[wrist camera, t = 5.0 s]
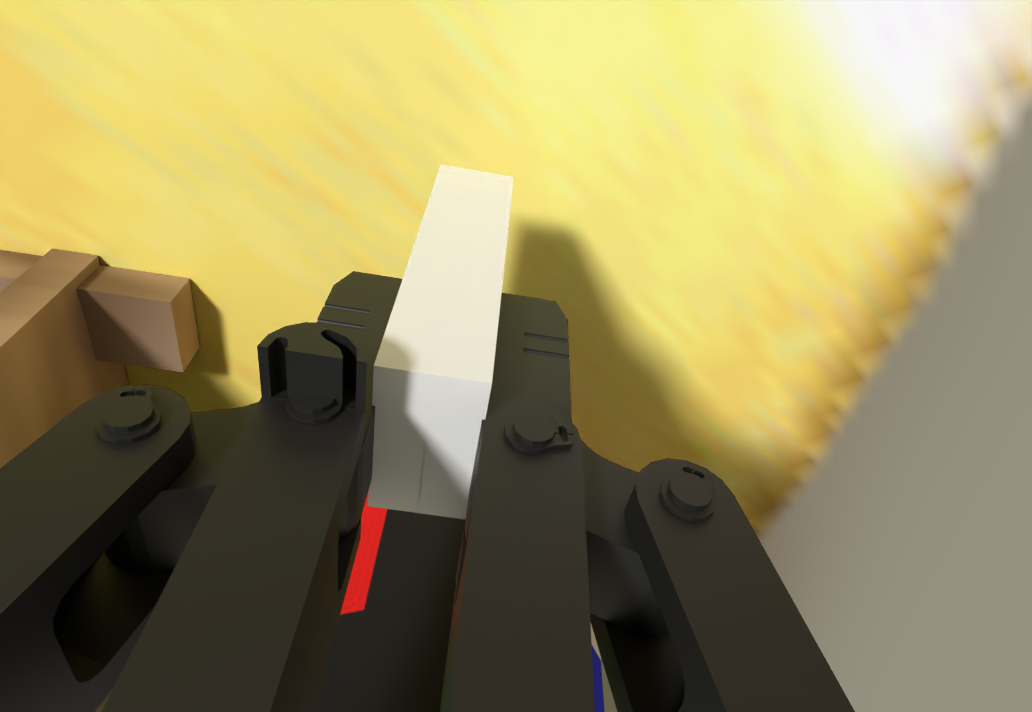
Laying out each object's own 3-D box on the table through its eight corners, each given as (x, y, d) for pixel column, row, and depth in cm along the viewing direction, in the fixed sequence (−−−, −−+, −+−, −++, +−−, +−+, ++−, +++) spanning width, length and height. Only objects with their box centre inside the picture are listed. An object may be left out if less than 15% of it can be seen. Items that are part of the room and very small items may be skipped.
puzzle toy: (595, 579, 27) (617, 890, 19) (373, 622, 29) (309, 914, 21) (501, 399, 21) (477, 733, 13) (236, 471, 24) (82, 790, 16)
